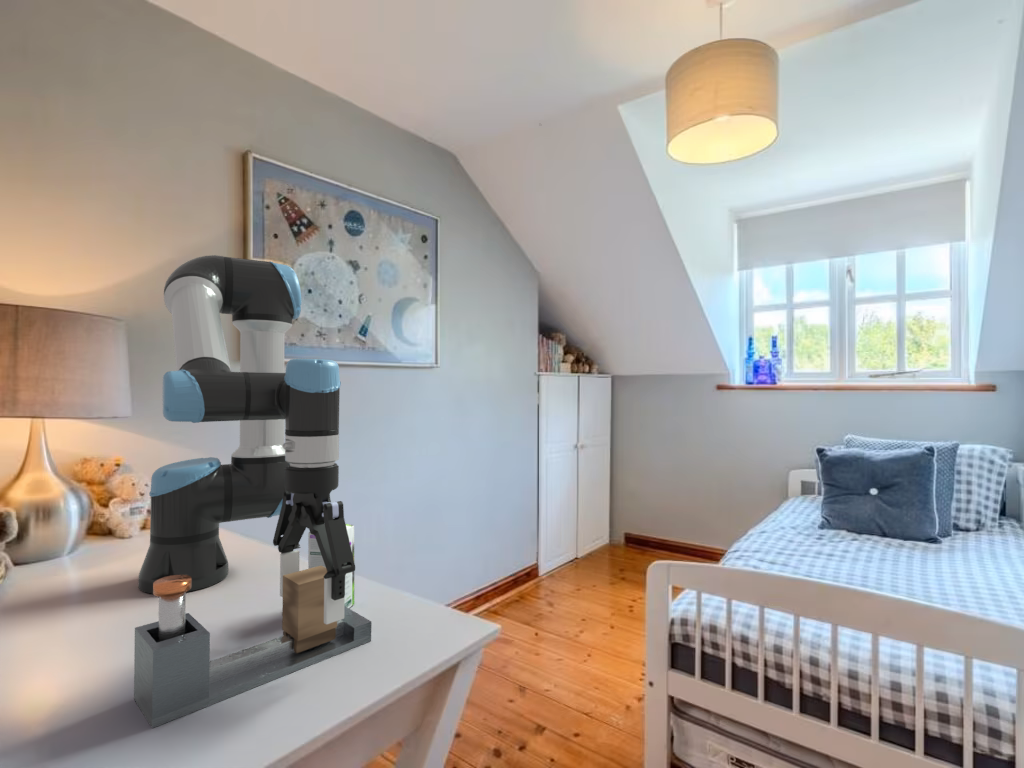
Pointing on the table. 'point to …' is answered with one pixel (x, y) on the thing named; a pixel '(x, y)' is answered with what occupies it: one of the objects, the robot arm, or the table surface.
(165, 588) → the plunger
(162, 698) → the rail
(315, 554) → the syrup box
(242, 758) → the table surface
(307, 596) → the block
